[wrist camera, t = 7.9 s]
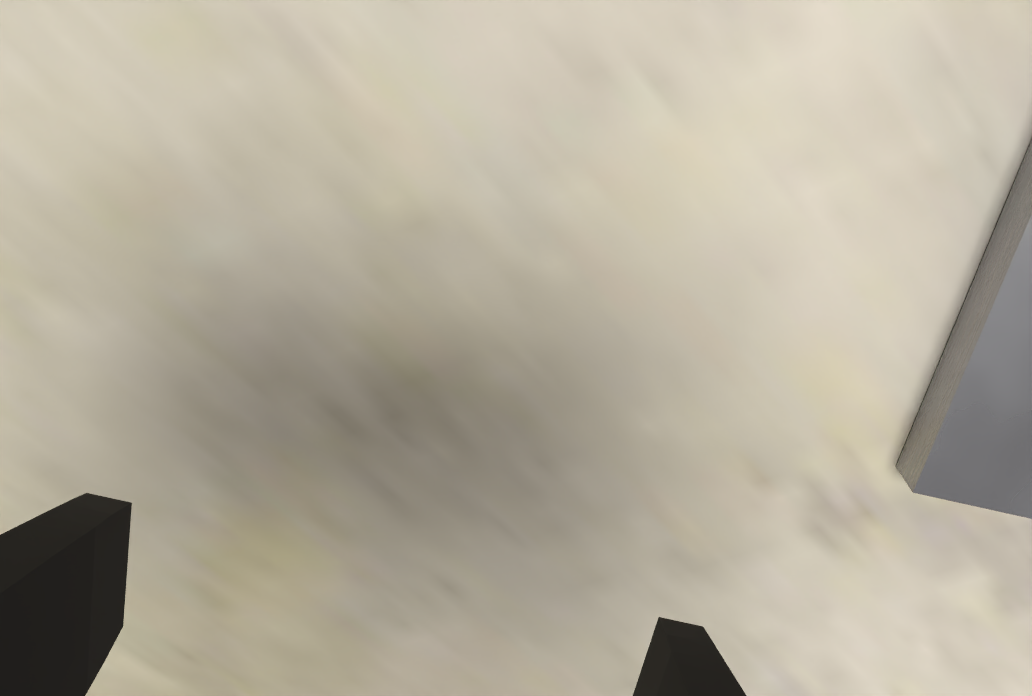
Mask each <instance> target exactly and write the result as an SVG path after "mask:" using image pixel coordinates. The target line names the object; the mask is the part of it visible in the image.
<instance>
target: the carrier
mask: <svg viewBox="0 0 1032 696" xmlns="http://www.w3.org/2000/svg"><path fill="white" fill-rule="evenodd" d="M896 468H897V469H898V471H899V472H900V474H901V475H902V477H903V478H904V480H905V481H906V483H907V484H908V486H909V487H910V489H911V490H912V492H913V493H918V494H922V495H927V496H931V497H936V498H940V499H945V500H950V501H954V502H959V503H963V504H968V505H972V506H977V507H981V508H986V509H990V510H995V511H999V512H1004V513H1008V514H1013V515H1017V516H1022V517H1026V518H1031V519H1032V140H1031V143H1030V145H1029V148H1028V150H1027V152H1026V155H1025V157H1024V160H1023V162H1022V165H1021V167H1020V169H1019V172H1018V174H1017V177H1016V179H1015V181H1014V184H1013V186H1012V189H1011V191H1010V193H1009V196H1008V198H1007V201H1006V203H1005V205H1004V208H1003V210H1002V213H1001V215H1000V217H999V220H998V222H997V225H996V227H995V229H994V232H993V234H992V237H991V239H990V242H989V244H988V246H987V249H986V251H985V254H984V256H983V258H982V261H981V263H980V266H979V268H978V270H977V273H976V275H975V278H974V280H973V282H972V285H971V287H970V290H969V292H968V294H967V297H966V299H965V302H964V304H963V306H962V309H961V311H960V314H959V316H958V318H957V321H956V323H955V326H954V328H953V331H952V333H951V335H950V338H949V340H948V343H947V345H946V347H945V350H944V352H943V355H942V357H941V359H940V362H939V364H938V367H937V369H936V371H935V374H934V376H933V379H932V381H931V383H930V386H929V388H928V391H927V393H926V395H925V398H924V400H923V403H922V405H921V408H920V410H919V412H918V415H917V417H916V420H915V422H914V424H913V427H912V429H911V432H910V434H909V436H908V439H907V441H906V444H905V446H904V448H903V451H902V453H901V456H900V458H899V460H898V463H897V465H896Z"/></svg>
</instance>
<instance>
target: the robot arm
mask: <svg viewBox="0 0 1032 696" xmlns="http://www.w3.org/2000/svg"><path fill="white" fill-rule="evenodd" d="M131 505H132V503H130V502H126V501H121V500H116V499H112V498H107V497H103V496H98V495H93V494H89V493H86V494H83V495H81V496H79V497H77V498H74V499H72V500H70V501H68V502H66V503H64V504H62V505H60V506H57V507H55V508H53V509H51V510H49V511H47V512H45V513H43V514H41V515H39V516H37V517H35V518H33V519H31V520H29V521H27V522H25V523H23V524H21V525H19V526H17V527H15V528H13V529H11V530H9V531H7V532H5V533H3V534H1V535H0V696H85V695H86V693H87V692H88V690H89V688H90V686H91V684H92V683H93V681H94V679H95V677H96V676H97V674H98V672H99V670H100V668H101V667H102V665H103V663H104V661H105V659H106V657H107V656H108V654H109V652H110V650H111V648H112V646H113V644H114V642H115V640H116V639H117V637H118V635H119V633H120V631H121V629H122V627H123V619H124V605H125V591H126V576H127V562H128V548H129V533H130V519H131ZM633 696H746V694H745V693H744V691H743V690H742V688H741V686H740V685H739V683H738V682H737V680H736V678H735V677H734V675H733V674H732V672H731V670H730V669H729V667H728V666H727V664H726V662H725V661H724V659H723V658H722V656H721V654H720V653H719V651H718V650H717V648H716V646H715V645H714V643H713V642H712V640H711V638H710V637H709V635H708V634H707V632H706V631H705V629H704V627H702V626H697V625H693V624H688V623H684V622H679V621H674V620H670V619H665V618H661V617H659V618H658V621H657V624H656V627H655V630H654V633H653V636H652V639H651V642H650V645H649V648H648V651H647V654H646V657H645V660H644V663H643V667H642V670H641V673H640V676H639V679H638V682H637V685H636V688H635V691H634V694H633Z"/></svg>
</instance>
